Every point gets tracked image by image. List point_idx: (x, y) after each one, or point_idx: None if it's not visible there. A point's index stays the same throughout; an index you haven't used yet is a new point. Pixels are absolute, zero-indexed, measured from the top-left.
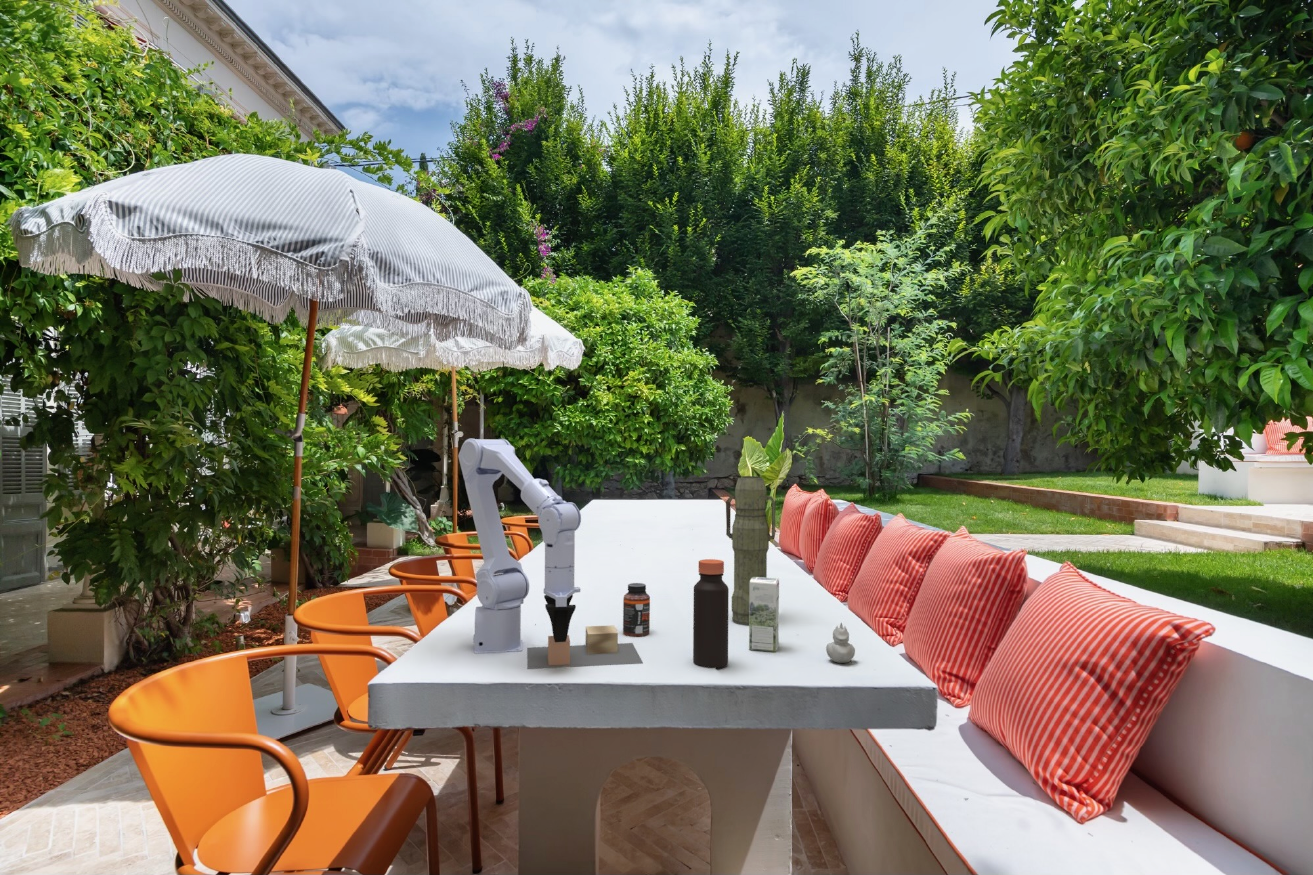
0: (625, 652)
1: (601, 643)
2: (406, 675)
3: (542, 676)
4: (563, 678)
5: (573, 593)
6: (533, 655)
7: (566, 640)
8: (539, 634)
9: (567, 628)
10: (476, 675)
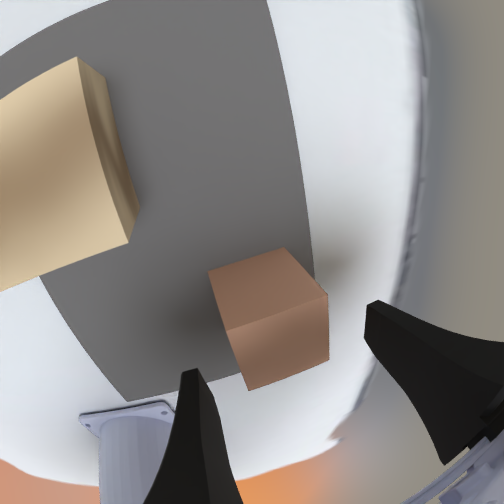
0: (101, 46)
1: (112, 152)
2: (311, 449)
3: (358, 291)
4: (380, 234)
5: (496, 483)
6: None
7: (320, 310)
8: (4, 390)
9: (427, 325)
10: (328, 398)
